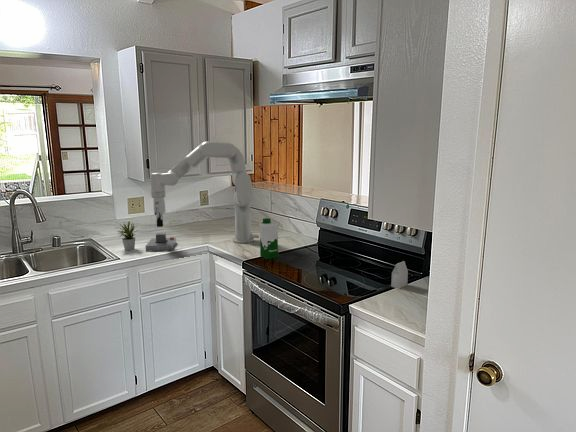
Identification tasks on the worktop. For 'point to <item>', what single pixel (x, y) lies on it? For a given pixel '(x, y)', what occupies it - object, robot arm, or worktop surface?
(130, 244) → the house plant
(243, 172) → the robot arm
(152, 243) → the socket plate
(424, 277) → the worktop surface
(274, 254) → the milk carton
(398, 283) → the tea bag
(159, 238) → the plug
